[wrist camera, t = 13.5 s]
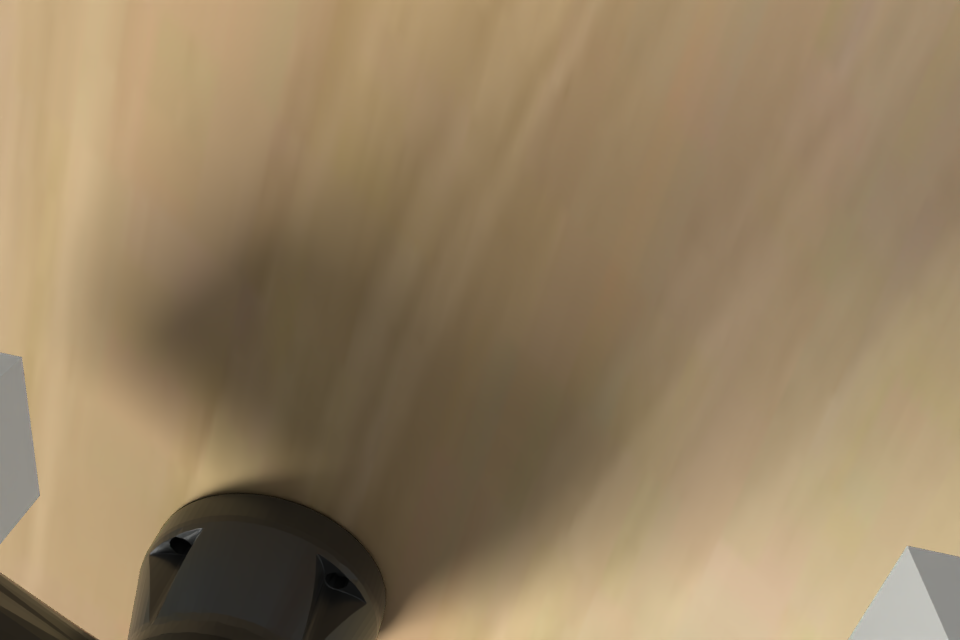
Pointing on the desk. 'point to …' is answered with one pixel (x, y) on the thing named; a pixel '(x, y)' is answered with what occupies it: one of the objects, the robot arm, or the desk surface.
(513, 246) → the desk surface
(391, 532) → the desk surface
